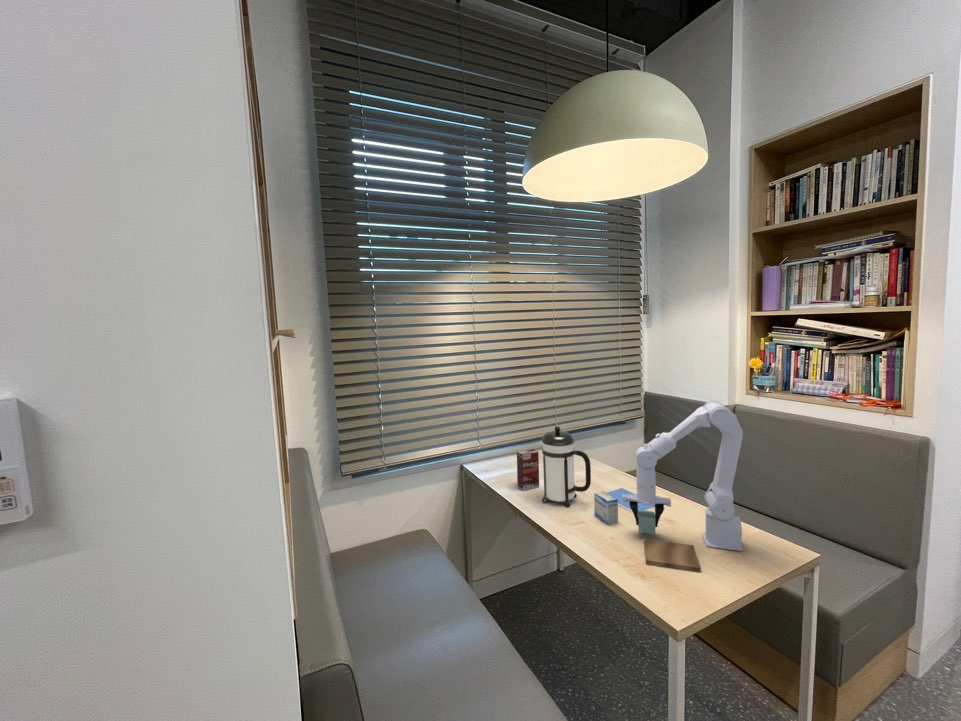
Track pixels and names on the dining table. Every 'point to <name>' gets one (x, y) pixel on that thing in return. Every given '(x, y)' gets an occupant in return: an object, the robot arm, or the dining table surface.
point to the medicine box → (606, 507)
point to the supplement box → (527, 469)
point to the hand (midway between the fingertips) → (646, 524)
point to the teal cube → (646, 521)
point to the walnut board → (671, 555)
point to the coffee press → (561, 467)
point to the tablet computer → (619, 495)
